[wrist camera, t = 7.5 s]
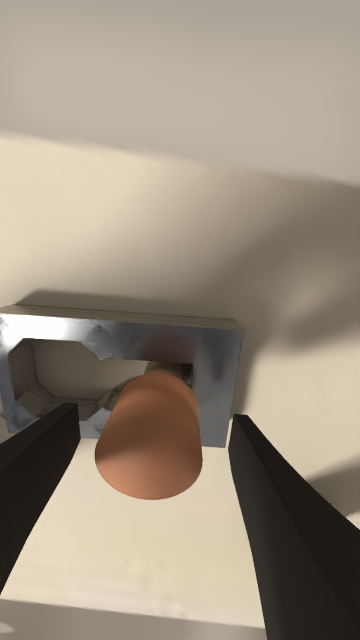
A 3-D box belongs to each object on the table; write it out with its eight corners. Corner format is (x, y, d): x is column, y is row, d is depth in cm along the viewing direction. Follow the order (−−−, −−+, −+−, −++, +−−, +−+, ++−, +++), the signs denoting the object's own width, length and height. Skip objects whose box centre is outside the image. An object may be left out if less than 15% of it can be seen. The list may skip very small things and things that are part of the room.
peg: (136, 400, 15) (102, 499, 9) (130, 345, 14) (86, 416, 8) (195, 399, 15) (202, 499, 9) (194, 344, 14) (202, 415, 8)
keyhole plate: (25, 410, 16) (3, 432, 14) (8, 304, 13) (-22, 311, 11) (220, 424, 16) (225, 447, 14) (235, 320, 13) (243, 330, 11)
